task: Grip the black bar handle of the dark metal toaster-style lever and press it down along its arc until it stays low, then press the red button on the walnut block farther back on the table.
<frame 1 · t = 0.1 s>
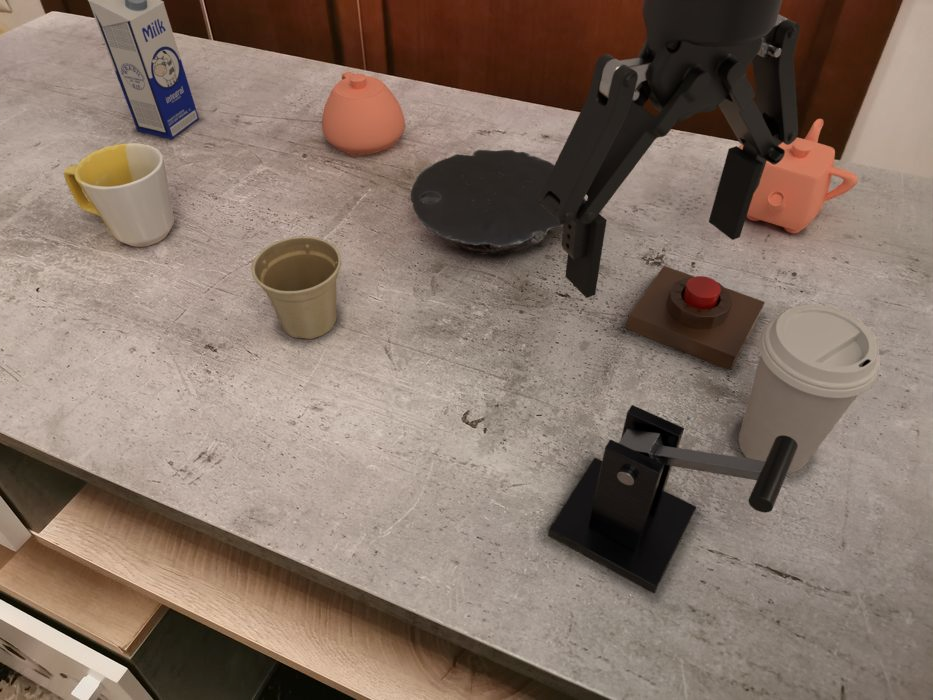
hand: (654, 256, 55), 23 cm above the worktop, tool pointing down, fingers open, 13 cm apart
cancel button: (701, 292, 79), point 4 cm above the worktop, slide at 0.1 cm
milk carton: (169, 126, 115), on the worktop
teapot: (778, 213, 97), on the worktop
sugar bowl: (364, 139, 111), on the worktop
lever bracket: (621, 524, 65), on the worktop
mug: (138, 231, 96), on the worktop
button block: (693, 322, 82), on the worktop
board: (493, 224, 96), on the worktop
flower pot: (310, 322, 83), on the worktop
press lever: (699, 460, 54), point 13 cm above the worktop, hinge at 25.0°
coffee cup: (772, 447, 70), on the worktop
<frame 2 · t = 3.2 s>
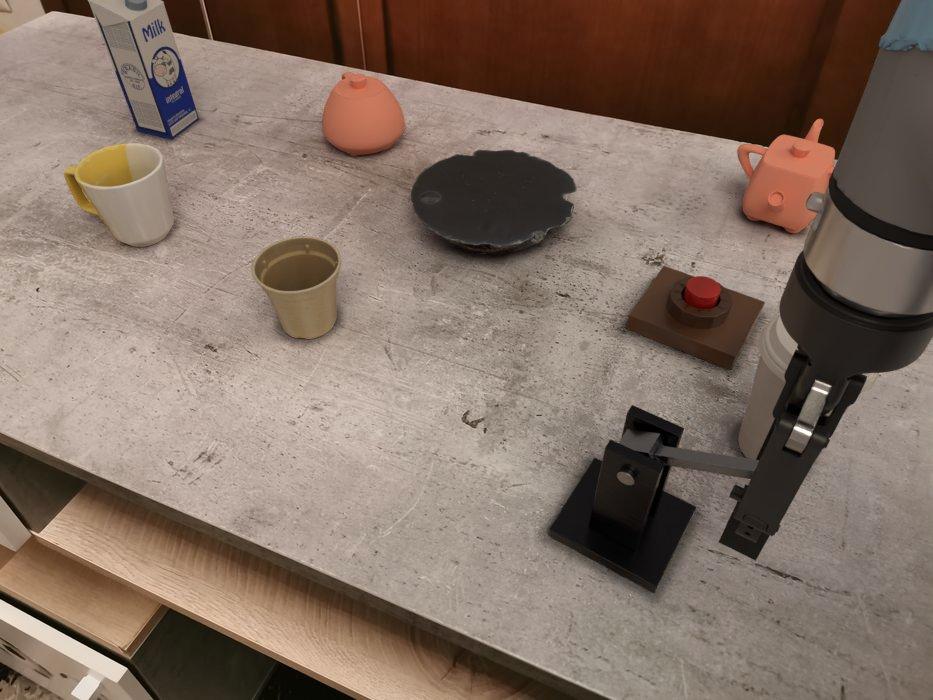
hand: (753, 512, 54), 10 cm above the worktop, tool pointing down, fingers closed on press lever, 6 cm apart
press lever: (699, 460, 54), point 13 cm above the worktop, hinge at 25.0°, touching gripper
everything else where it was.
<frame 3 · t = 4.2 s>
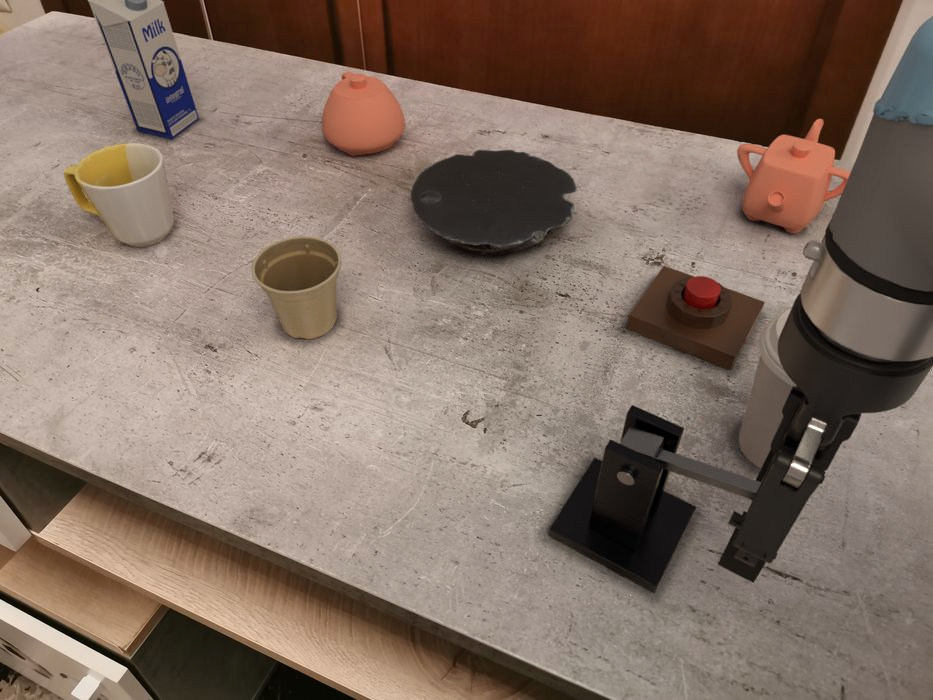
hand: (751, 534, 56), 7 cm above the worktop, tool pointing down, fingers closed on press lever, 6 cm apart
press lever: (700, 471, 54), point 12 cm above the worktop, hinge at 10.3°, touching gripper
everything else where it was.
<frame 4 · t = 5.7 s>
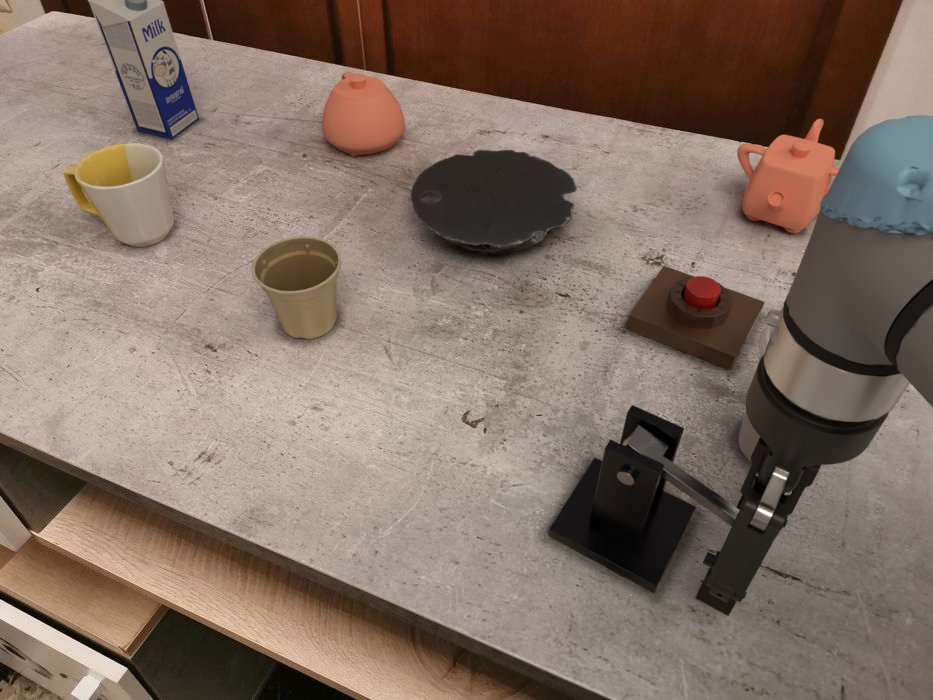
hand: (730, 563, 59), 2 cm above the worktop, tool pointing down, fingers open, 7 cm apart
press lever: (692, 487, 56), point 10 cm above the worktop, hinge at -17.4°
everything else where it was.
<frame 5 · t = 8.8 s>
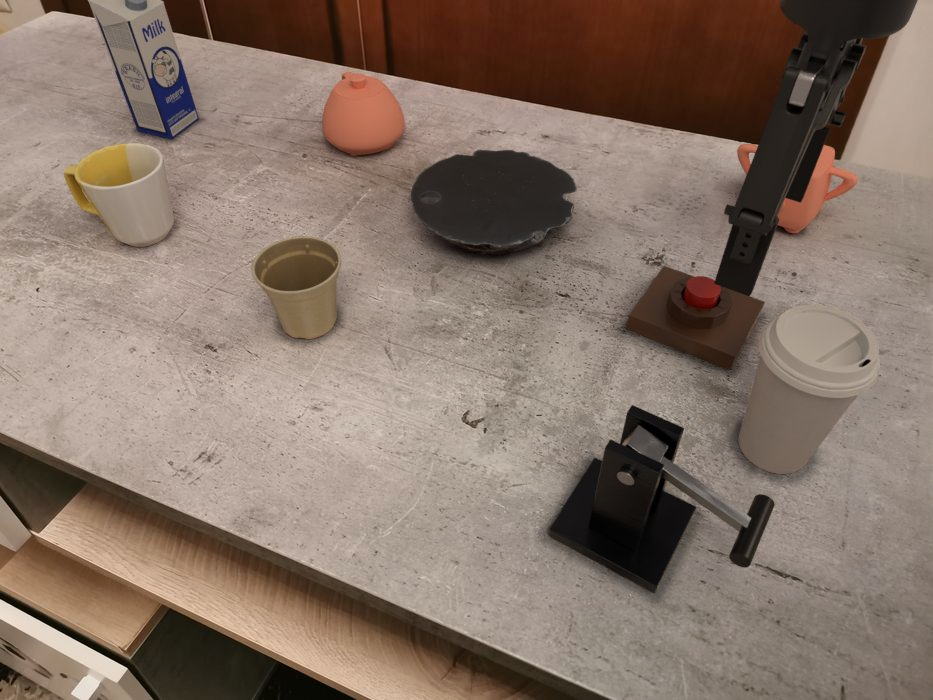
hand: (761, 238, 58), 22 cm above the worktop, tool pointing down, fingers open, 13 cm apart
nothing on the worktop moved.
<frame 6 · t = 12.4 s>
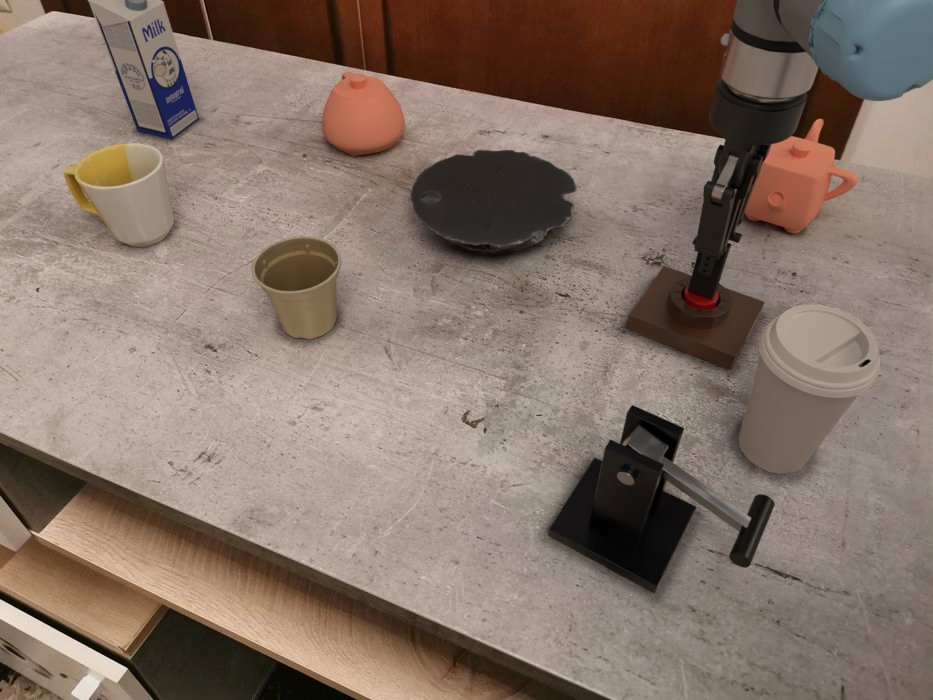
hand: (702, 290, 79), 5 cm above the worktop, tool pointing down, fingers closed
cancel button: (700, 299, 80), point 4 cm above the worktop, slide at -0.8 cm, touching gripper
everything else where it was.
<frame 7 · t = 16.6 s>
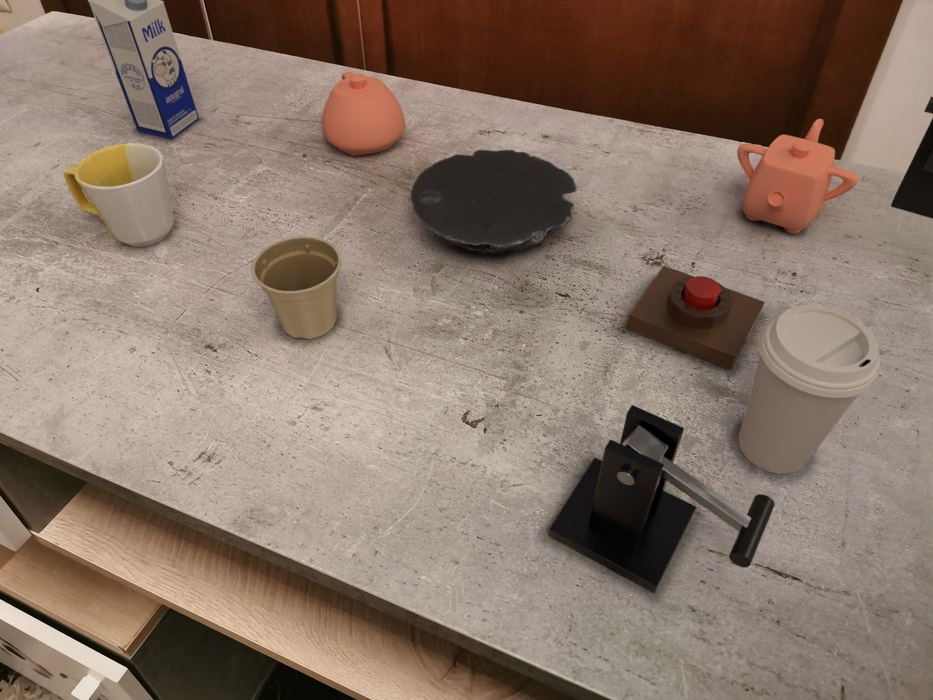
hand: (915, 206, 46), 30 cm above the worktop, tool pointing down, fingers closed
cancel button: (701, 292, 79), point 4 cm above the worktop, slide at 0.1 cm
everything else where it was.
at the end: press lever at -17° (first picture: +25°); cancel button pushed in 1.0 cm at the most during the clip, back to where it started at the end; cancel button slide at 0.1 cm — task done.
